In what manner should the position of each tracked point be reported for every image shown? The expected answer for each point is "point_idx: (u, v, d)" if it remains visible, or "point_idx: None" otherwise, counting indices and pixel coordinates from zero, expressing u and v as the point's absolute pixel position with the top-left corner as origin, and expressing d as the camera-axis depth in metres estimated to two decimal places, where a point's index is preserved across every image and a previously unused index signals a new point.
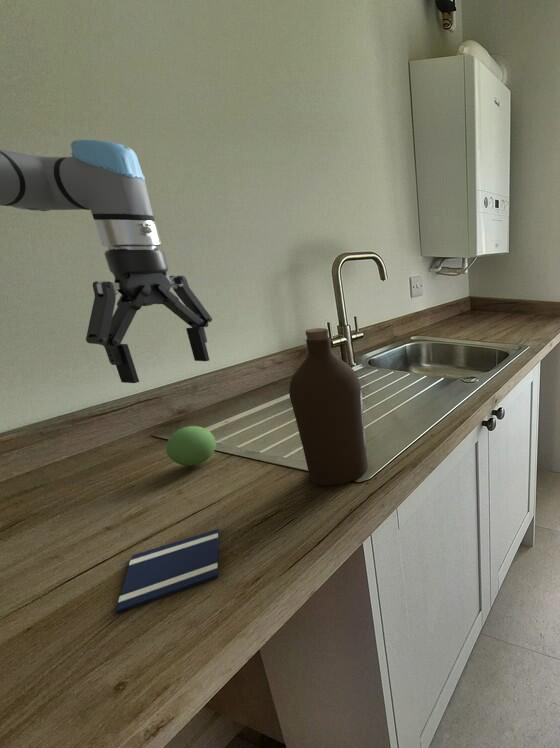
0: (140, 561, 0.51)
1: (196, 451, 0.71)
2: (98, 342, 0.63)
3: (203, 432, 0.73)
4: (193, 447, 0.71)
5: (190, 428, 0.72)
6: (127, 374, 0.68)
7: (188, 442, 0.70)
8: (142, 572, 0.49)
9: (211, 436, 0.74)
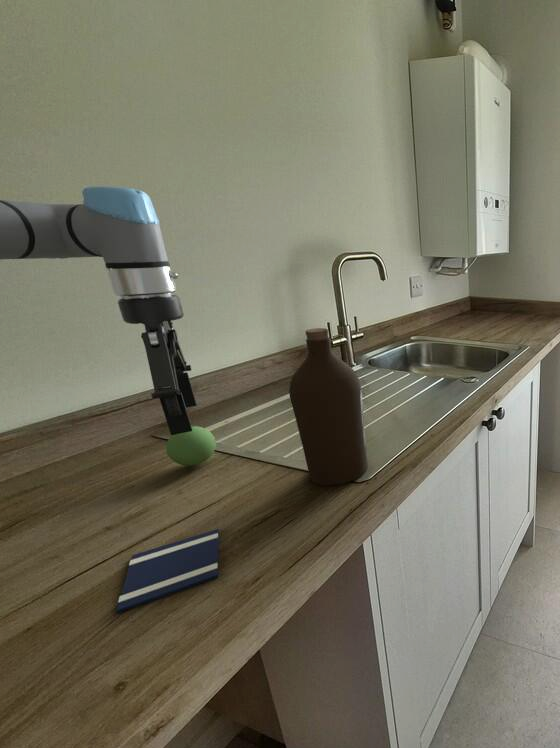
0: (140, 561, 0.51)
1: (196, 451, 0.71)
2: (174, 392, 0.62)
3: (203, 432, 0.73)
4: (193, 447, 0.71)
5: None
6: (183, 424, 0.66)
7: (188, 442, 0.70)
8: (142, 572, 0.49)
9: (211, 436, 0.74)
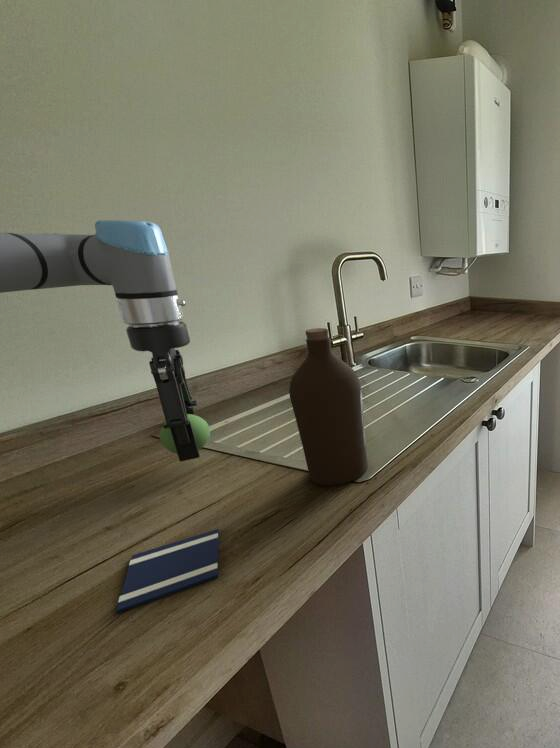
0: (140, 561, 0.51)
1: None
2: (184, 424, 0.66)
3: (197, 420, 0.72)
4: None
5: None
6: (191, 451, 0.70)
7: None
8: (142, 572, 0.49)
9: (205, 424, 0.73)
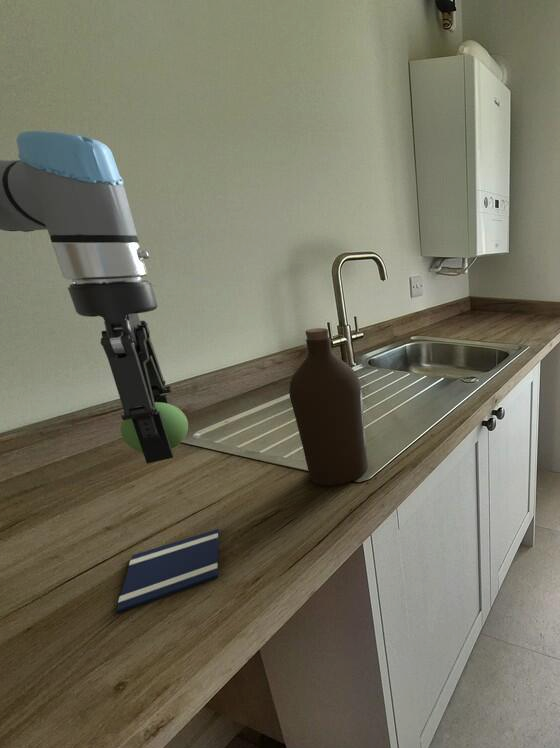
0: (140, 561, 0.51)
1: None
2: (149, 414, 0.50)
3: (170, 409, 0.56)
4: None
5: None
6: (161, 449, 0.54)
7: None
8: (142, 572, 0.49)
9: (181, 415, 0.57)
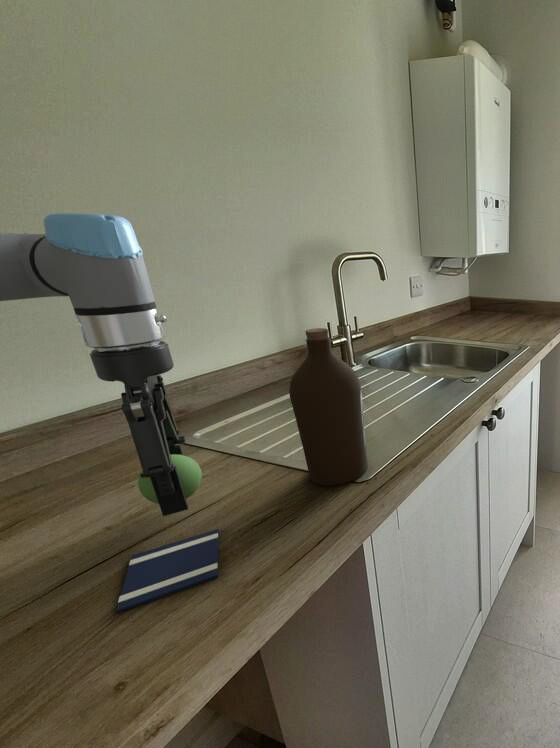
0: (140, 561, 0.51)
1: None
2: (167, 472, 0.52)
3: (185, 462, 0.58)
4: None
5: None
6: (177, 502, 0.56)
7: None
8: (142, 572, 0.49)
9: (196, 467, 0.59)
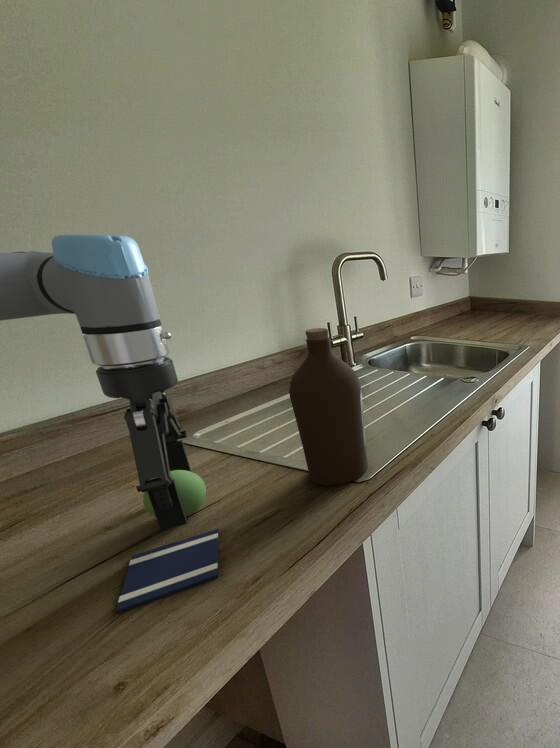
0: (140, 561, 0.51)
1: None
2: (164, 485, 0.50)
3: (190, 480, 0.58)
4: None
5: (174, 476, 0.57)
6: (175, 516, 0.54)
7: None
8: (142, 572, 0.49)
9: (200, 484, 0.59)
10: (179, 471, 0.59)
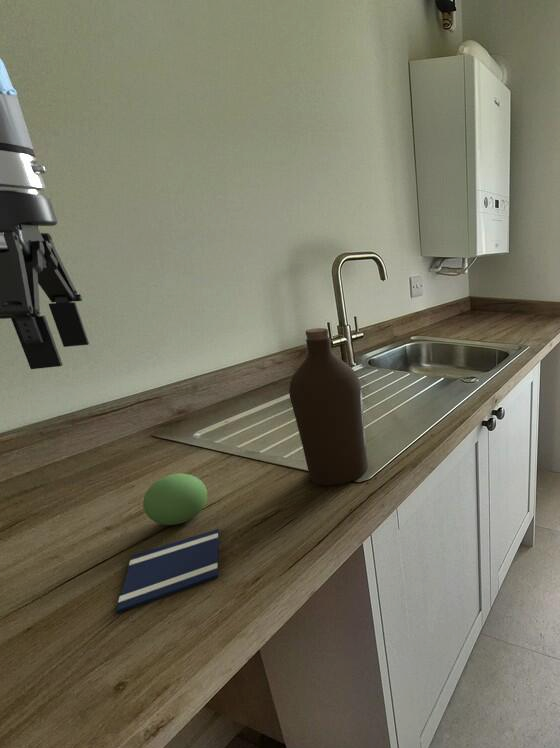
0: (140, 561, 0.51)
1: (185, 518, 0.57)
2: (26, 311, 0.48)
3: (193, 491, 0.57)
4: (181, 515, 0.56)
5: (176, 487, 0.56)
6: (47, 356, 0.52)
7: (175, 510, 0.55)
8: (142, 572, 0.49)
9: (203, 492, 0.58)
10: (181, 479, 0.57)
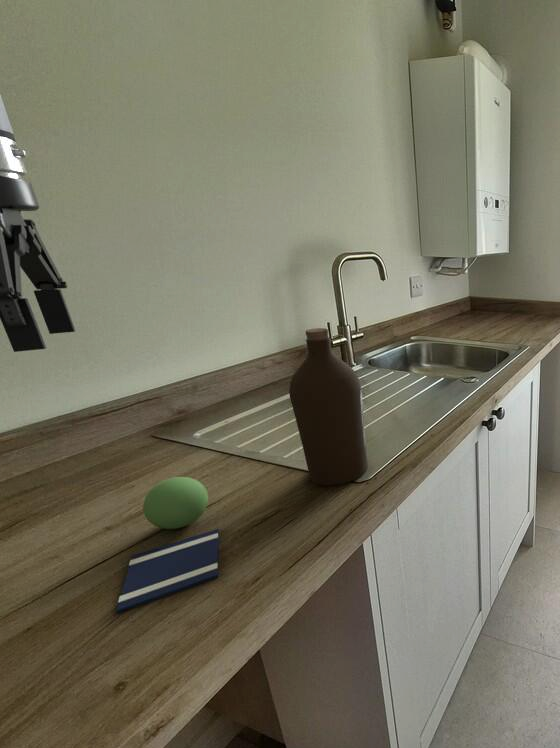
0: (140, 561, 0.51)
1: (187, 524, 0.57)
2: (7, 292, 0.49)
3: (196, 501, 0.56)
4: (184, 523, 0.56)
5: (179, 499, 0.55)
6: (30, 338, 0.53)
7: (178, 521, 0.55)
8: (142, 572, 0.49)
9: (205, 499, 0.58)
10: (183, 489, 0.55)
